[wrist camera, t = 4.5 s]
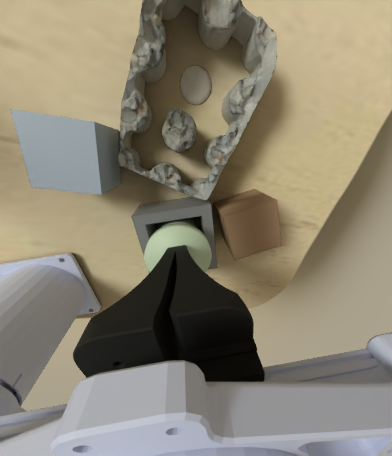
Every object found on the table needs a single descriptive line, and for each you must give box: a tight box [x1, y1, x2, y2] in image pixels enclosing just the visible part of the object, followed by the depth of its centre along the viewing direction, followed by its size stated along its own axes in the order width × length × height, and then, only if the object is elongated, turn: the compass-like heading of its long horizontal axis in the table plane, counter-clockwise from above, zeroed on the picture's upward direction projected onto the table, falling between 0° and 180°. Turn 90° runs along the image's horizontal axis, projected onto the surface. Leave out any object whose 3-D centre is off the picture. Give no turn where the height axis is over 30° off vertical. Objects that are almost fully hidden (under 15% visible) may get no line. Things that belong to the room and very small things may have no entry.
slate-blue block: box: [10, 109, 121, 195], centre depth 11 cm, size 4×4×4 cm
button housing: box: [132, 197, 217, 273], centre depth 15 cm, size 6×6×3 cm
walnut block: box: [214, 189, 282, 260], centre depth 15 cm, size 4×4×4 cm
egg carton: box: [118, 0, 277, 200], centre depth 11 cm, size 11×8×4 cm
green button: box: [144, 218, 212, 272], centre depth 14 cm, size 5×5×4 cm
